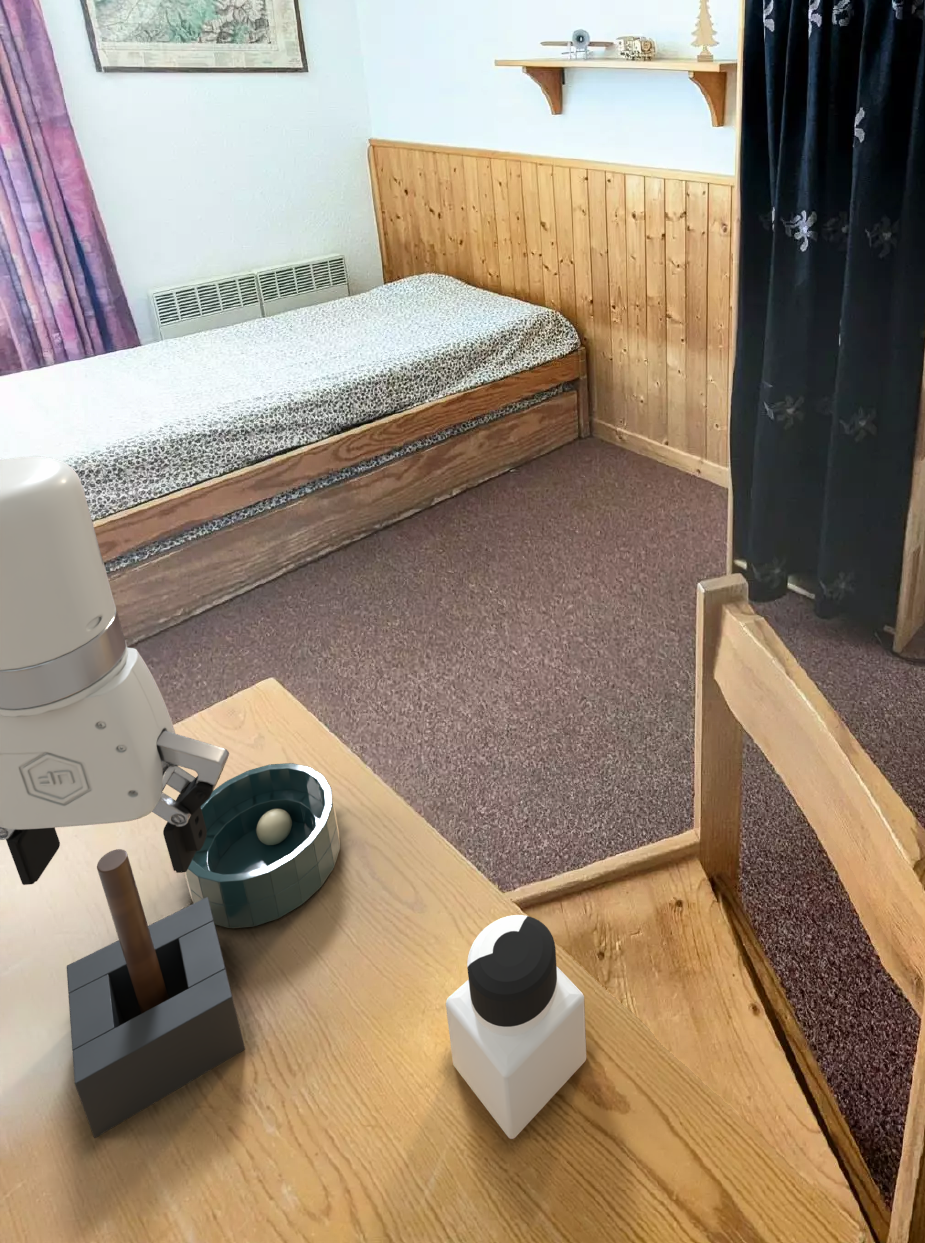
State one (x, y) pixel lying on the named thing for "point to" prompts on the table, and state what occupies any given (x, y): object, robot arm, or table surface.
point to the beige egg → (274, 826)
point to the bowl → (264, 845)
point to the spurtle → (132, 929)
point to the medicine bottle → (516, 1021)
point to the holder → (150, 1020)
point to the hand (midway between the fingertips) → (116, 860)
